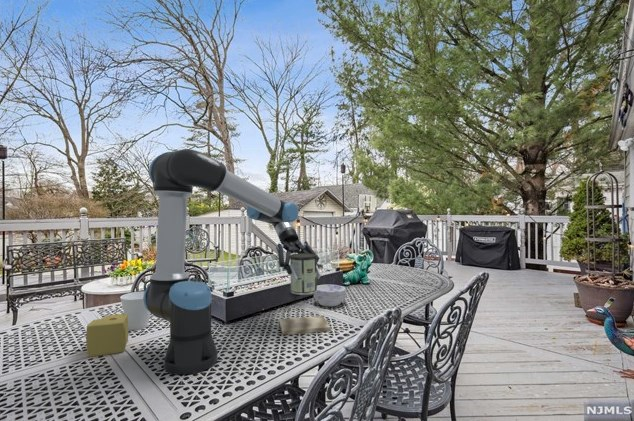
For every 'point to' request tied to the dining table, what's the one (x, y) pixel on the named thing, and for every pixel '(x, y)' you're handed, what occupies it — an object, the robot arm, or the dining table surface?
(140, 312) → the cup
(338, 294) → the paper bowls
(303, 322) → the plain beige board
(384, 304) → the dining table surface
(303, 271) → the coffee can
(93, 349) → the cheese
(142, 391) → the dining table surface
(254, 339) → the dining table surface
